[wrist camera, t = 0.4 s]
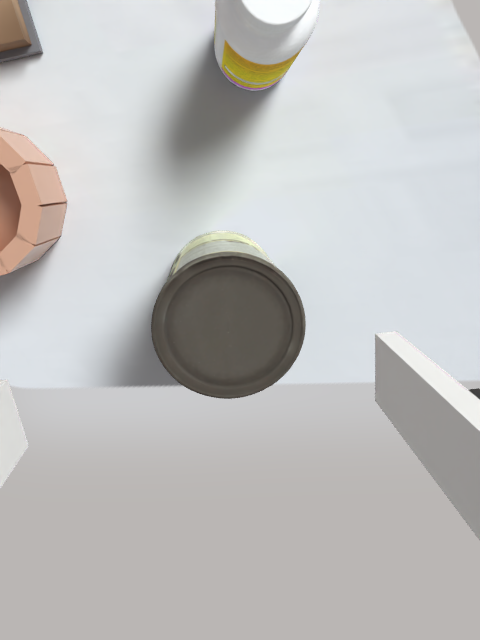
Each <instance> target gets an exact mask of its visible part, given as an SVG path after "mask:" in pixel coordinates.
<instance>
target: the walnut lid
mask: <svg viewBox="0 0 480 640" xmlns="http://www.w3.org/2000/svg"><path fill="white" fill-rule="evenodd" d="M29 45H32V44H31V41H30V38H29V34H28V31H27V28H26V25H25V22H24V19H23V16H22V13H21V10H20V7H19V4H18V1H17V0H0V52H3V51H7V50H12V49H16V48H21V47H25V46H29Z"/></svg>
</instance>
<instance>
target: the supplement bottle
mask: <svg viewBox="0 0 480 640" xmlns="http://www.w3.org/2000/svg"><path fill="white" fill-rule="evenodd" d="M319 6H320V0H216V4H215V7H216V8H215V34H214V47H215V55H216V59H217V62H218V65H219V67H220V69H221V71H222V72H223V74H224V75H225V76H226V77H227V79H228V80H229V81H231V82H232V83H233V84H234V85H236V86H238V87H240V88H242V89H246V90H251V91H259V90H264V89H266V88H269V87H271V86H273V85H274V84H276V83H277V82H278V81H279V80H280V79H281V78H282V77H283V76H284V75H285V74H286V72H287V71H288V69H289V68H290V66H291V65H292V63H293V62H294V60H295V59H296V57H297V56H298V54H299V53H300V51H301V50H302V48H303V47H304V45H305V44H306V42H307V41H308V39H309V38H310V36H311V34H312V32H313V30H314V28H315V25H316V22H317V18H318V14H319Z"/></svg>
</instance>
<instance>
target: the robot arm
mask: <svg viewBox="0 0 480 640" xmlns="http://www.w3.org/2000/svg"><path fill="white" fill-rule="evenodd" d="M375 401H376V402H377V404H378V405H379V406H380V408H381V409H382V410H383V412H384V413H385V414H386V416H387V417H388V419H389V420H390V421H391V422H392V424H393V425H394V427H395V428H396V429H397V431H398V432H399V433H400V435H401V436H402V437H403V439H404V440H405V441H406V442H407V444H408V445H409V446H410V448H411V449H412V451H413V452H414V453H415V455H416V456H417V457H418V459H419V460H420V461H421V463H422V464H423V465H424V466H425V468H426V469H427V471H428V472H429V473H430V475H431V476H432V477H433V479H434V480H435V481H436V483H437V484H438V485H439V487H440V488H441V489H442V491H443V492H444V493H445V495H446V496H447V497H448V499H449V500H450V501H451V503H452V504H453V505H454V507H455V508H456V509H457V511H458V512H459V513H460V515H461V516H462V517H463V519H464V520H465V521H466V523H467V524H468V525H469V527H470V528H471V529H472V531H473V532H474V533H475V535H476V536H477V537H478V539H479V540H480V389H471V390H467V389H466V388H465V387H464V386H463V385H461V384H460V383H459V382H458V381H456V380H455V379H454V378H453V377H452V376H450V375H449V374H448V373H447V372H445V371H444V370H443V369H442V368H441V367H439V366H438V365H437V364H436V363H434V362H433V361H432V360H431V359H429V358H428V357H427V356H426V355H425V354H423V353H422V352H421V351H420V350H418V349H417V348H416V347H415V346H414V345H412V344H411V343H410V342H409V341H407V340H406V339H405V338H404V337H403V336H401V335H400V334H399V333H398V332H396V331H394V332H386V333H378V334H375ZM28 446H29V445H28V442H27V439H26V436H25V433H24V430H23V426H22V423H21V420H20V417H19V414H18V410H17V407H16V404H15V401H14V398H13V395H12V392H11V388H10V385H9V382H8V380H0V488H1V487H2V485H3V483H4V482H5V481H6V479H7V478H8V476H9V474H10V473H11V471H12V470H13V469H14V467H15V466H16V464H17V463H18V461H19V459H20V458H21V457H22V455H23V454H24V452H25V451H26V449H27V448H28Z"/></svg>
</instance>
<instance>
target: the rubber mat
mask: <svg viewBox="0 0 480 640" xmlns="http://www.w3.org/2000/svg"><path fill="white" fill-rule="evenodd" d="M17 1H18V4H19V7H20V10H21V13H22V16H23V19H24V22H25V25H26V28H27V31H28V34H29V38H30V41H31V44H32V45H29V46H25V47H21V48H16V49H12V50H7V51H3V52H0V62H5V61H9V60H14V59H18V58H22V57H27V56H31V55H35V54H40V53H43V51H42V48H41V45H40V42H39V38H38V35H37V32H36V29H35V26H34V23H33V20H32V17H31V13H30V10H29V7H28V4H27V1H26V0H17Z"/></svg>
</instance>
